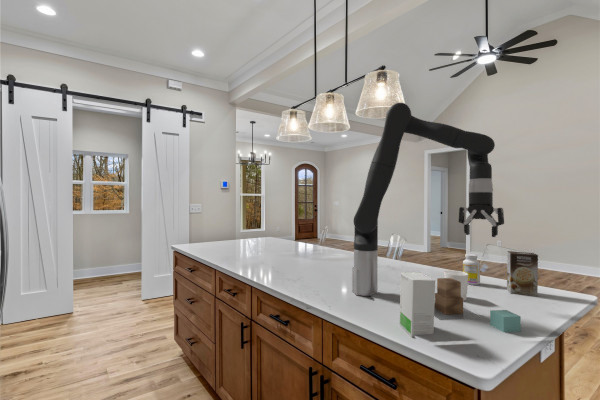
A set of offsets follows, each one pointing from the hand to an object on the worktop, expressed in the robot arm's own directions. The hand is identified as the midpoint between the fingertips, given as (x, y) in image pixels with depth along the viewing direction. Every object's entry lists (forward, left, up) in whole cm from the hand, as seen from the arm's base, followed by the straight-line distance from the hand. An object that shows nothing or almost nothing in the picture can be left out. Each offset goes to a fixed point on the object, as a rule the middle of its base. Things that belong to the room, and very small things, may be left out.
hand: (480, 235), depth 110 cm
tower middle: (-19, -10, -18) cm, 28 cm away
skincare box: (-36, -22, -24) cm, 49 cm away
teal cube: (-11, -24, -24) cm, 36 cm away
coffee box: (+24, +9, -24) cm, 35 cm away
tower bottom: (-19, -10, -23) cm, 32 cm away
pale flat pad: (-19, -10, -24) cm, 32 cm away
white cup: (-8, +3, -24) cm, 26 cm away
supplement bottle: (+13, +24, -24) cm, 36 cm away
